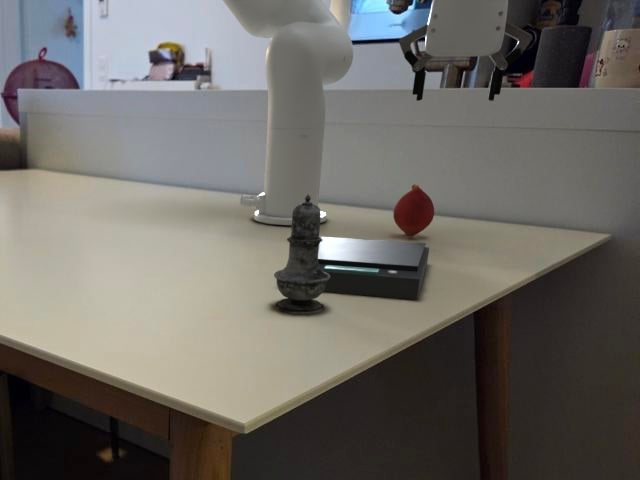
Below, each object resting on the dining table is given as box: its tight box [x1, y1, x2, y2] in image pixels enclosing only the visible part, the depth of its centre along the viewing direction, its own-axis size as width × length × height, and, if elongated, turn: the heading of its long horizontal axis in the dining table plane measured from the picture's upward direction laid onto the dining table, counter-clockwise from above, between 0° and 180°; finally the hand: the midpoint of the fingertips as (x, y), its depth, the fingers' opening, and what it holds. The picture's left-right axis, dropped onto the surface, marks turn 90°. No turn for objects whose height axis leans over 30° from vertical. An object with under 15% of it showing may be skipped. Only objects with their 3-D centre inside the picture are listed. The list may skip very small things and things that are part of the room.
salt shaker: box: [273, 194, 330, 315], centre depth 77 cm, size 6×6×12 cm
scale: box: [318, 236, 430, 300], centre depth 91 cm, size 15×18×3 cm
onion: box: [392, 183, 435, 238], centre depth 112 cm, size 6×6×8 cm
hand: (454, 100), depth 106 cm, fingers open, 9 cm apart
